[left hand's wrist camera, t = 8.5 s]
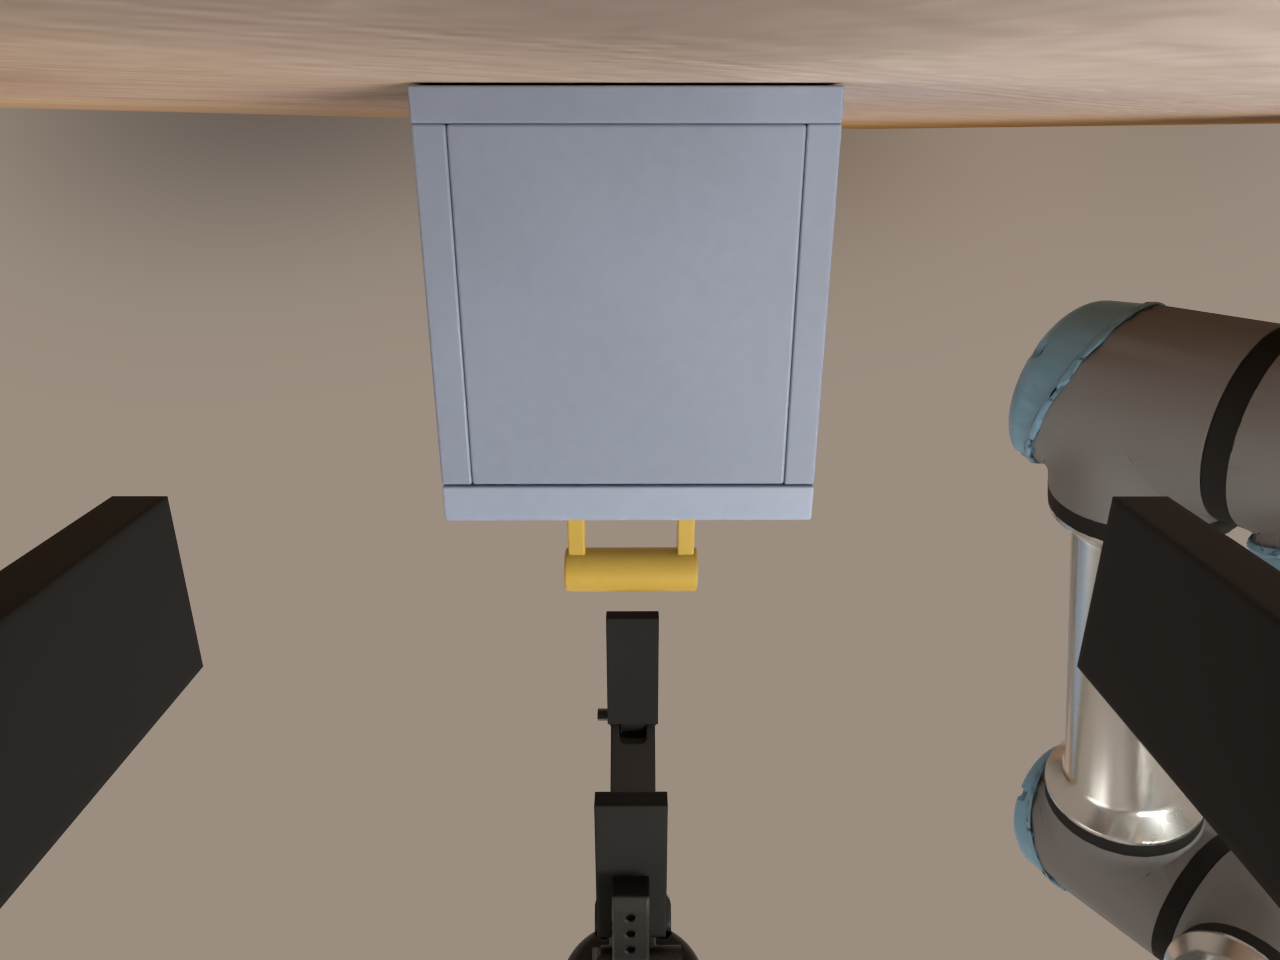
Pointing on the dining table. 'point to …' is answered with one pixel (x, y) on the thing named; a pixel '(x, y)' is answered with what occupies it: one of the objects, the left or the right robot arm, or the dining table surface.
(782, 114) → the chest
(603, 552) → the lid
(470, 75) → the dining table surface
